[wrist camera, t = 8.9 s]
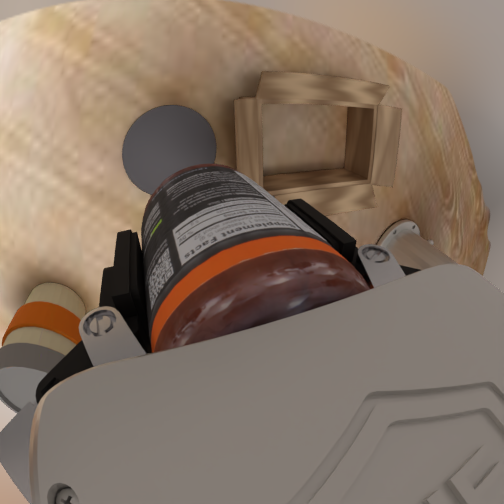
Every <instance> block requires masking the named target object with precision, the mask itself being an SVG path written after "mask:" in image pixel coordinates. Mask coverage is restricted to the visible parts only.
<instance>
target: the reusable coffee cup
mask: <svg viewBox="0 0 504 504" xmlns="http://www.w3.org/2000/svg"><path fill="white" fill-rule="evenodd" d="M85 315H86V309H85V306H84V303H83V301H82V300H81V298H80V297H79V296H78V295H77V294H76V293H75V292H74V291H73V290H71V289H70V288H68V287H66V286H64V285H61V284H58V283H43V284H40V285H38V286H36V287H35V288H34V289H33V290H32V292H31V293H30V295H29V297H28V299H27V300H26V302H25V304H24V305H23V306H21V307H20V308H19V309H18V310H17V312H16V314H15V315H14V317H13V319H12V321H11V323H10V325H9V327H8V329H7V331H6V332H5V334H4V336H3V340H2V348H0V400H1V401H2V402H3V403H4V404H5V405H6V406H8V407H9V408H10V409H11V410H13V411H14V412H16V413H17V414H18V412H19V411H20V410H21V409H22V408H23V407H24V406H25V405H26V404H27V403H28V402H29V401H30V402H31V403H32V404H33V403H34V402H35V401H36V396H35V395H36V389H37V386H38V384H39V383H40V381H41V380H42V379H43V378H44V377H45V376H46V375H47V374H48V373H49V372H50V371H51V370H52V369H53V368H54V367H55V366H56V365H57V364H58V363H59V362H60V361H61V360H62V359H63V358H64V357H65V356H66V355H67V354H68V353H69V352H70V351H71V350H72V349H73V348H74V347H75V346H76V345H77V344H78V343H79V342H80V341H81V340H82V338H81V336H80V333H79V324H80V321H81V320H82V318H83V317H84V316H85Z"/></svg>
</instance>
